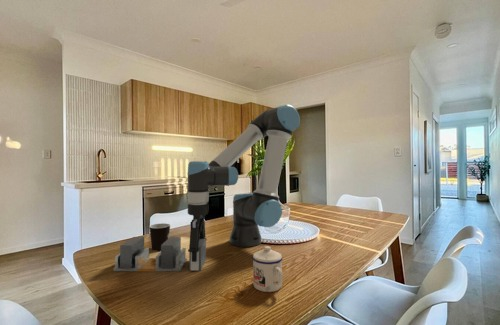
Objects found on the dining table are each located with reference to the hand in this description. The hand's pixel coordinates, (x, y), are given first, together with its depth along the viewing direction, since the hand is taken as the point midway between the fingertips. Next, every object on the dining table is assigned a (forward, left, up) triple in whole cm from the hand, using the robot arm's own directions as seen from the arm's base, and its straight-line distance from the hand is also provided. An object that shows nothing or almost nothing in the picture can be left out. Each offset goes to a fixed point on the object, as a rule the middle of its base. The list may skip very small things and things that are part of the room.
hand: (197, 263), depth 91 cm
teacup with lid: (-25, +17, -1) cm, 30 cm away
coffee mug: (+20, -19, -1) cm, 28 cm away
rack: (+16, +1, 0) cm, 16 cm away
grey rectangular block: (0, 0, 0) cm, 0 cm away
